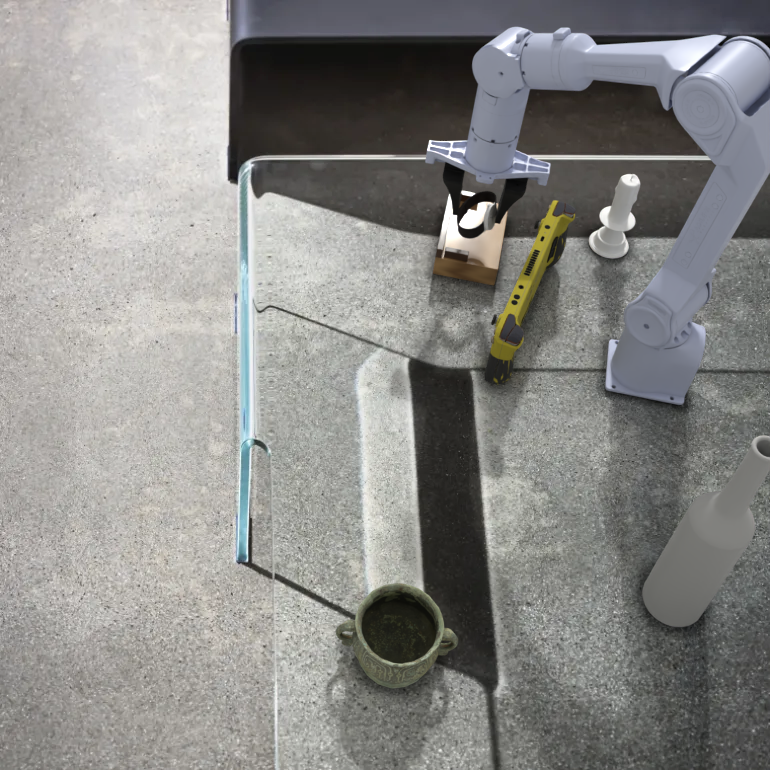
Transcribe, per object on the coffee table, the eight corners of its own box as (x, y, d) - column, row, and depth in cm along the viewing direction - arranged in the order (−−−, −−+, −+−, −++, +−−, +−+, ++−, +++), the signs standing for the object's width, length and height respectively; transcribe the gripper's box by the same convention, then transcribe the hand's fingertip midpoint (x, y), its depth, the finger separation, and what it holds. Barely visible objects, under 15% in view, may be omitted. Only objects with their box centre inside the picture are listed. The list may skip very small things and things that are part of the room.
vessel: (453, 617, 118) (462, 588, 113) (452, 699, 113) (461, 672, 108) (336, 606, 118) (340, 576, 113) (329, 688, 112) (333, 661, 107)
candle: (600, 224, 156) (623, 156, 146) (635, 242, 154) (660, 175, 145) (581, 246, 153) (603, 177, 143) (616, 265, 151) (641, 197, 142)
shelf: (505, 221, 154) (511, 196, 151) (494, 285, 147) (500, 261, 143) (446, 210, 155) (450, 185, 151) (432, 273, 147) (436, 248, 144)
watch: (481, 248, 141) (486, 227, 138) (446, 234, 142) (450, 213, 139) (504, 210, 146) (509, 189, 143) (469, 197, 146) (474, 175, 144)
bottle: (713, 590, 123) (815, 439, 101) (690, 638, 119) (791, 492, 97) (656, 560, 124) (744, 404, 102) (632, 606, 121) (718, 455, 99)
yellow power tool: (532, 247, 152) (548, 190, 144) (563, 257, 151) (580, 201, 143) (471, 386, 137) (484, 331, 129) (505, 398, 136) (520, 344, 128)
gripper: (427, 137, 130) (413, 224, 140) (555, 162, 129) (531, 247, 140) (436, 98, 134) (422, 186, 145) (560, 122, 134) (537, 208, 144)
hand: (476, 213), depth 143 cm, fingers closed on watch, 5 cm apart
